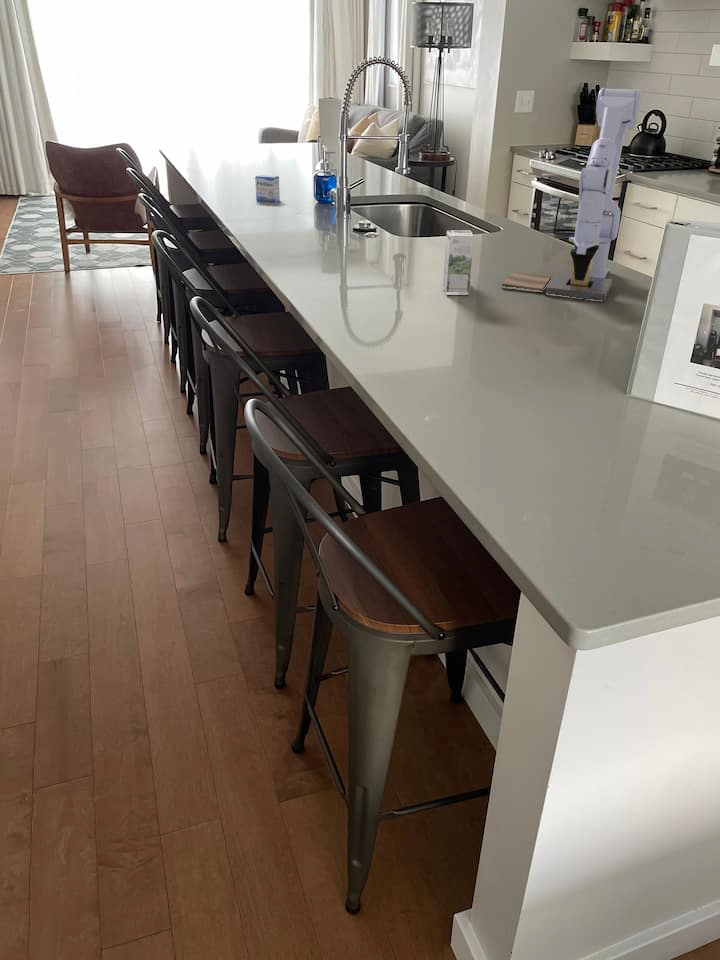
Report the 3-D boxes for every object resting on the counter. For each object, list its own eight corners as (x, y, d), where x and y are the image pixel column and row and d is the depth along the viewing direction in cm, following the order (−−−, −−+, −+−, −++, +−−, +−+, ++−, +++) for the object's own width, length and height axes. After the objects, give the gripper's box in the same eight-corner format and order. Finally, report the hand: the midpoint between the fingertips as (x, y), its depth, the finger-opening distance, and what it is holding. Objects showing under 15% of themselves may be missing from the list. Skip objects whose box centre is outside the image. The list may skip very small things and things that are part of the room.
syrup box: (465, 289, 195) (470, 229, 188) (469, 296, 190) (474, 234, 183) (442, 289, 195) (446, 229, 188) (445, 296, 190) (449, 234, 182)
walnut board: (512, 276, 205) (512, 272, 205) (550, 281, 202) (551, 276, 201) (501, 288, 196) (502, 283, 195) (541, 293, 192) (542, 288, 192)
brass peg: (571, 287, 196) (576, 255, 192) (588, 289, 195) (593, 257, 191) (569, 291, 193) (573, 259, 189) (585, 293, 192) (590, 260, 188)
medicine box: (255, 200, 293) (254, 176, 289) (260, 198, 297) (259, 174, 293) (275, 202, 291) (274, 177, 287) (280, 200, 295) (279, 175, 291)
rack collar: (555, 281, 202) (556, 273, 201) (611, 287, 198) (612, 279, 197) (544, 295, 191) (545, 287, 190) (604, 302, 186) (605, 294, 185)
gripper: (576, 213, 193) (569, 268, 200) (567, 224, 181) (559, 283, 188) (606, 215, 191) (597, 271, 197) (598, 227, 179) (589, 286, 186)
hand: (580, 277), depth 193 cm, fingers closed on brass peg, 4 cm apart
